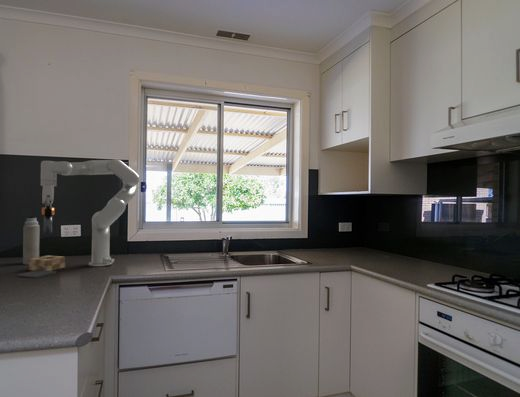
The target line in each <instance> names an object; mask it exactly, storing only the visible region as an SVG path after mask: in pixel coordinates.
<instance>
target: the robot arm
mask: <svg viewBox="0 0 520 397" xmlns="http://www.w3.org/2000/svg"><path fill="white" fill-rule="evenodd" d="M57 175H61V176H78V175H79V176H82V175H83V176H93V175H94V176H96V175H97V176H98V175H115V176H116V177H118V178H119V179H120V180H121V181H122V188H121V189H120V190H119V191H118V192H117V193H116V194H115V195H114V196H113V197H112V198H111V199H110V200H109V199H108V202H107V204H106V205H105V206H104V207H103V209H101V210H100V211H96V212H95V213H94V214H93V215H92V217H91V230H92V232H91V261H89V262H88V266H90V267H105V266H110V265H113V263H114V262H115V258H112V257H111V256H110V249H111V248H110V240H111V239H110V238H111V233H110V232H111V230H110V229H111V228H110V227H111V225H112V224H113V223H114V222H115V221H117V220H118V218H120V216H122V215H123V213H124V212H125V210H126V206H127V205H128V204H129V203H130V201H132V200H133V198H135V196H136V195H137V191H138V190H137V189H138V184H139V182H140V176H139V174H138V173H137V172H136V171H135V170H133V169H132V168H131V167H130V166H128V165H127V164H125V162H123V161H122V160H120V159H118V158H115V159H96V160H95V159H94V160H93V159H90V160H86V161H80V162H78V161H77V162H69V161H62V160H61V161H53V160H42V161H41V162H40V186H41V187H42V192H41V193H42V196H41V197H42V199H41V200H42V202H41V203H42V204H43V205H45V207H44V208H45V216H52V217H53V215H52V209H51V207H52V204H53V202H54V198H55V197H54V195H55V187H57V186H58V184H57V179H58V178H57Z"/></svg>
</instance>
